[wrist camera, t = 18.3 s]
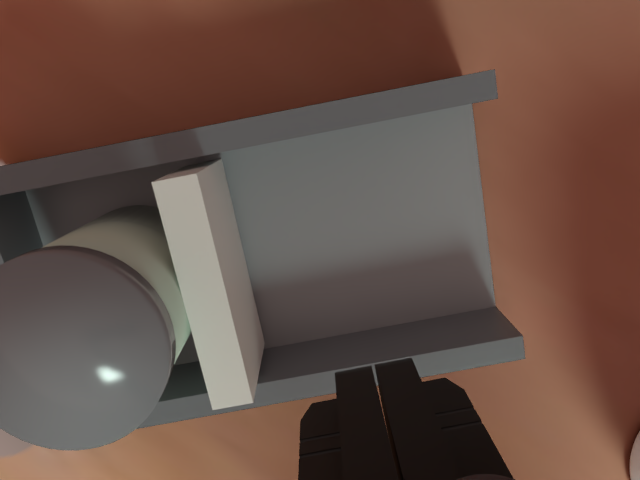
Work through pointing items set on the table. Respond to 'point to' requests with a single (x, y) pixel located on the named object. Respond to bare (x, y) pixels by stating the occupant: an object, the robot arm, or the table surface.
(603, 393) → the table surface
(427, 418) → the robot arm
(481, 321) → the grey tray
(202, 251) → the block
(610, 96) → the table surface
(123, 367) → the small jar
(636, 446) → the jar
